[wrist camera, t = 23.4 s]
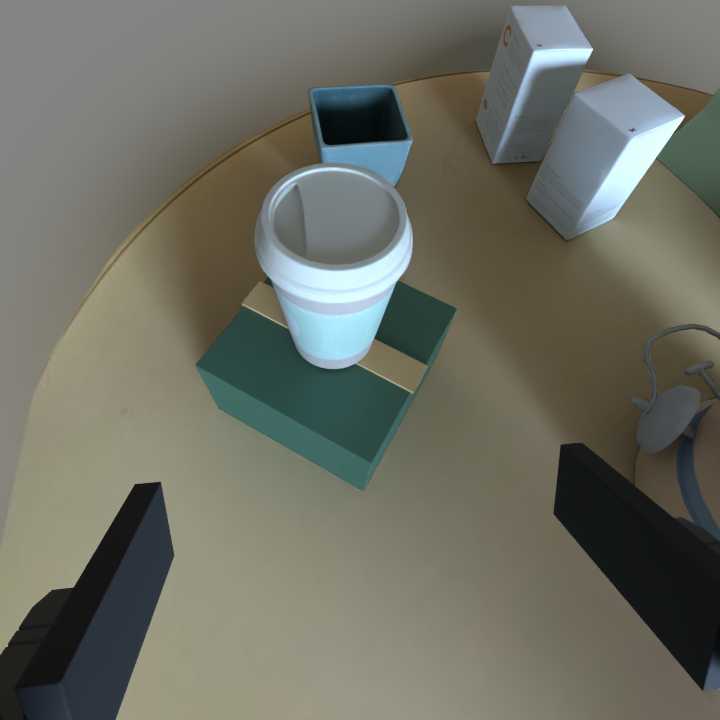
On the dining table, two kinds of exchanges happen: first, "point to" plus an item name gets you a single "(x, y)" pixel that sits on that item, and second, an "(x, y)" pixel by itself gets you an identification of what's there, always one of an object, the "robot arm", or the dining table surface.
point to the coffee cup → (333, 257)
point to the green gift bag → (698, 153)
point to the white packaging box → (601, 153)
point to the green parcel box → (325, 380)
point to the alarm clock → (681, 445)
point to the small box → (531, 82)
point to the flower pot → (361, 128)
